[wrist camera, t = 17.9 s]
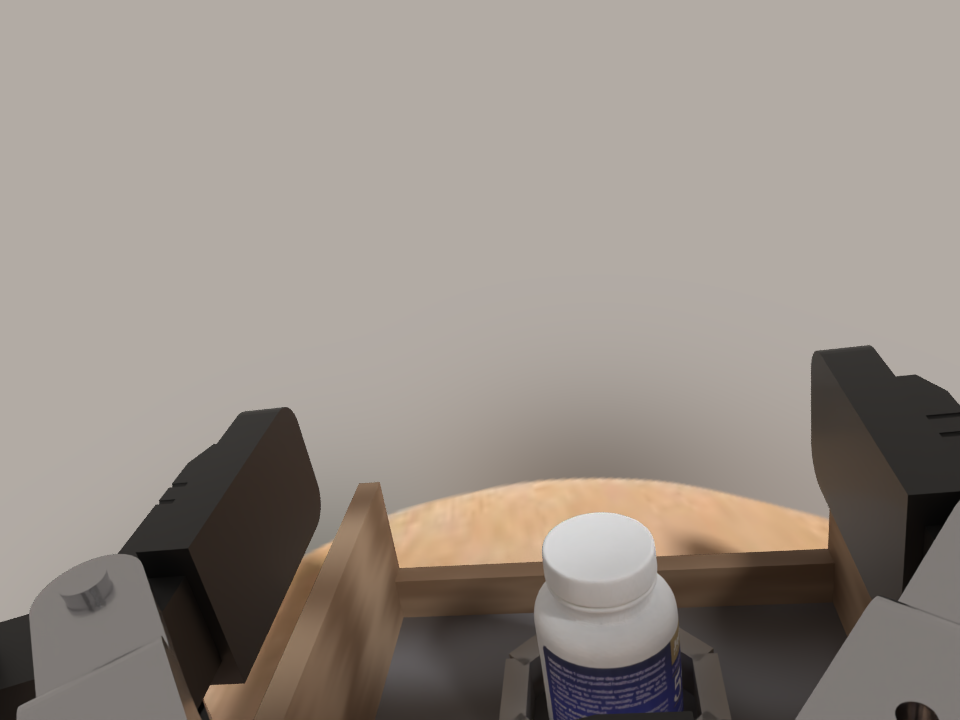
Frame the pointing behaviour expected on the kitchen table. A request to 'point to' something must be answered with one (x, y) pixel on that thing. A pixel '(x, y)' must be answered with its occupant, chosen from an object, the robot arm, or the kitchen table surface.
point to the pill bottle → (606, 621)
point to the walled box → (513, 640)
